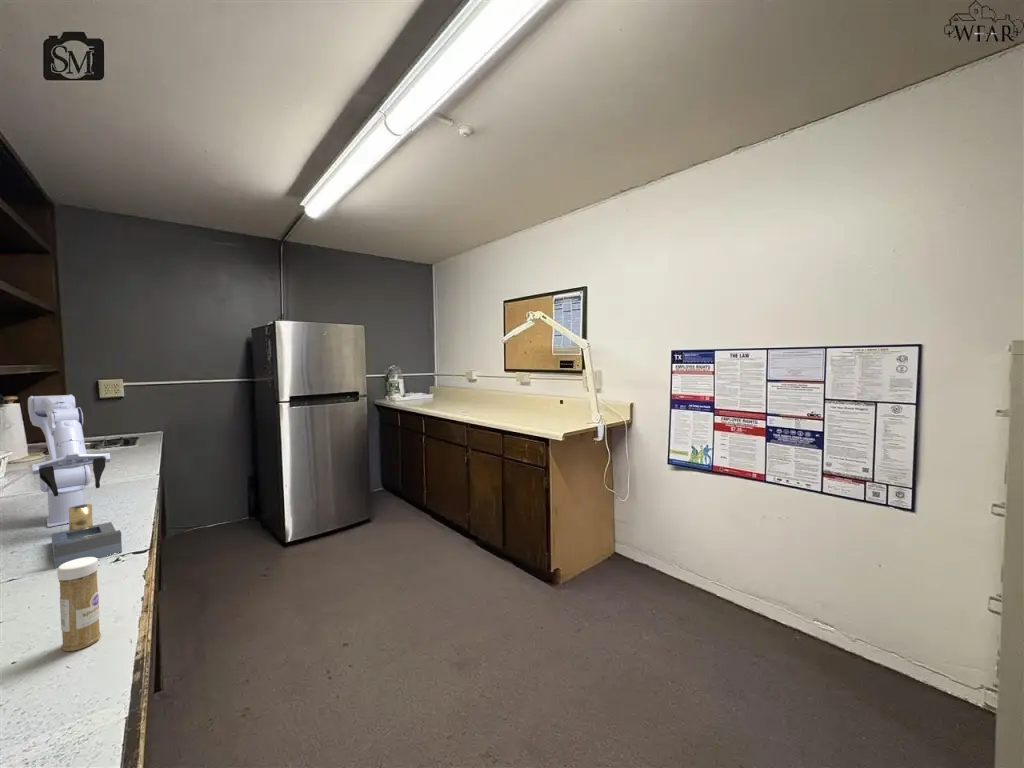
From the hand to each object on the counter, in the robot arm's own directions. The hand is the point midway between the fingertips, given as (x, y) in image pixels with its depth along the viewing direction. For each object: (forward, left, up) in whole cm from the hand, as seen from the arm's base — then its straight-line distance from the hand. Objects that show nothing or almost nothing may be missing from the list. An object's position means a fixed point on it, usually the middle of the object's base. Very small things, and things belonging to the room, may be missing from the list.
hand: (77, 490), depth 111 cm
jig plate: (+11, +1, -12) cm, 17 cm away
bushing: (-4, +1, -12) cm, 13 cm away
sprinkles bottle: (+61, -3, -13) cm, 62 cm away
